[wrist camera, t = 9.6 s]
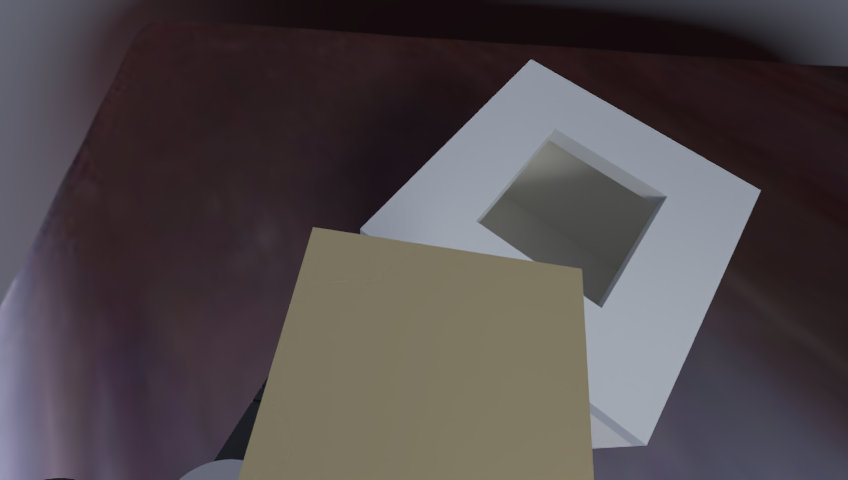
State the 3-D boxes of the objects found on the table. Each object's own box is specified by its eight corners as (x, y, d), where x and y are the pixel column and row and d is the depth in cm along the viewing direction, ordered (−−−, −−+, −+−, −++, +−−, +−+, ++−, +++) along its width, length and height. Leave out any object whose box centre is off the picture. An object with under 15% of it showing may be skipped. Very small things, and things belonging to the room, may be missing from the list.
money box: (635, 279, 35) (760, 190, 23) (538, 451, 28) (646, 445, 17) (485, 180, 38) (530, 59, 27) (367, 313, 32) (360, 228, 20)
